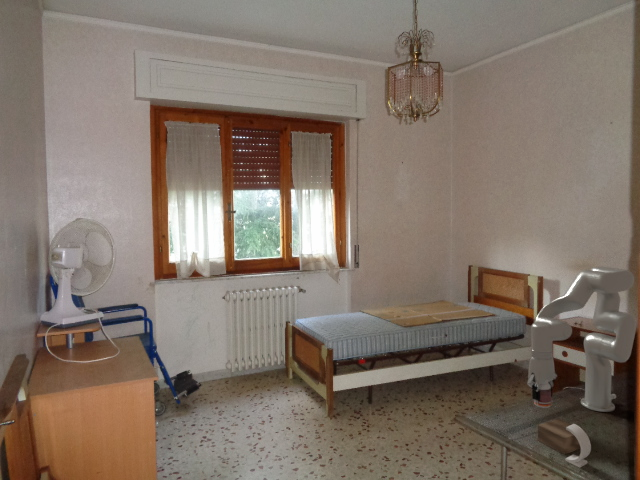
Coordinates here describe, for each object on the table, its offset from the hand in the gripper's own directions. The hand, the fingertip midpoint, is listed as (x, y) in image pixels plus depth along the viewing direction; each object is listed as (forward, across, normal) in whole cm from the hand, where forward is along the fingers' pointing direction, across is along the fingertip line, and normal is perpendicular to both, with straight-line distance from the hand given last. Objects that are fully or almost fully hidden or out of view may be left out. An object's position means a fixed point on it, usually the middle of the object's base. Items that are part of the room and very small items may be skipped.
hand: (542, 397), depth 187 cm
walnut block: (+11, +7, +14) cm, 19 cm away
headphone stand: (+11, +13, +25) cm, 30 cm away
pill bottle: (+3, 0, 0) cm, 3 cm away
